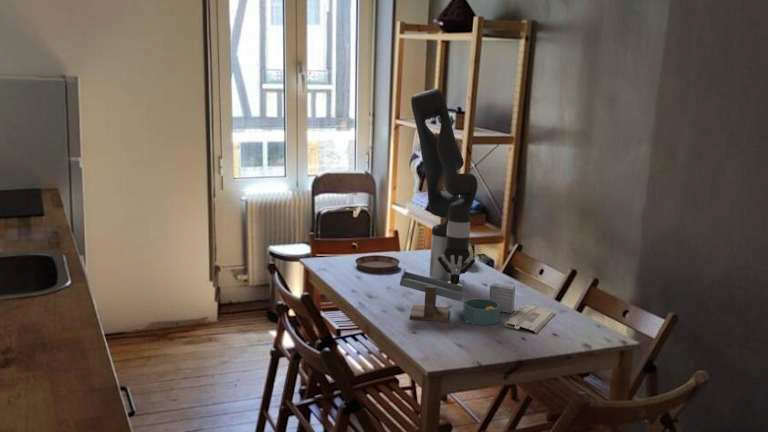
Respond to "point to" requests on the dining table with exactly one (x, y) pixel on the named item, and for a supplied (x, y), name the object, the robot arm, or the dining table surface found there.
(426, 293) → the lever stand
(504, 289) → the medicine box
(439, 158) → the robot arm
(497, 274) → the dining table surface
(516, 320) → the newspaper
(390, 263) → the plant saucer
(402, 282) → the lever
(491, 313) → the teal faceted bowl
